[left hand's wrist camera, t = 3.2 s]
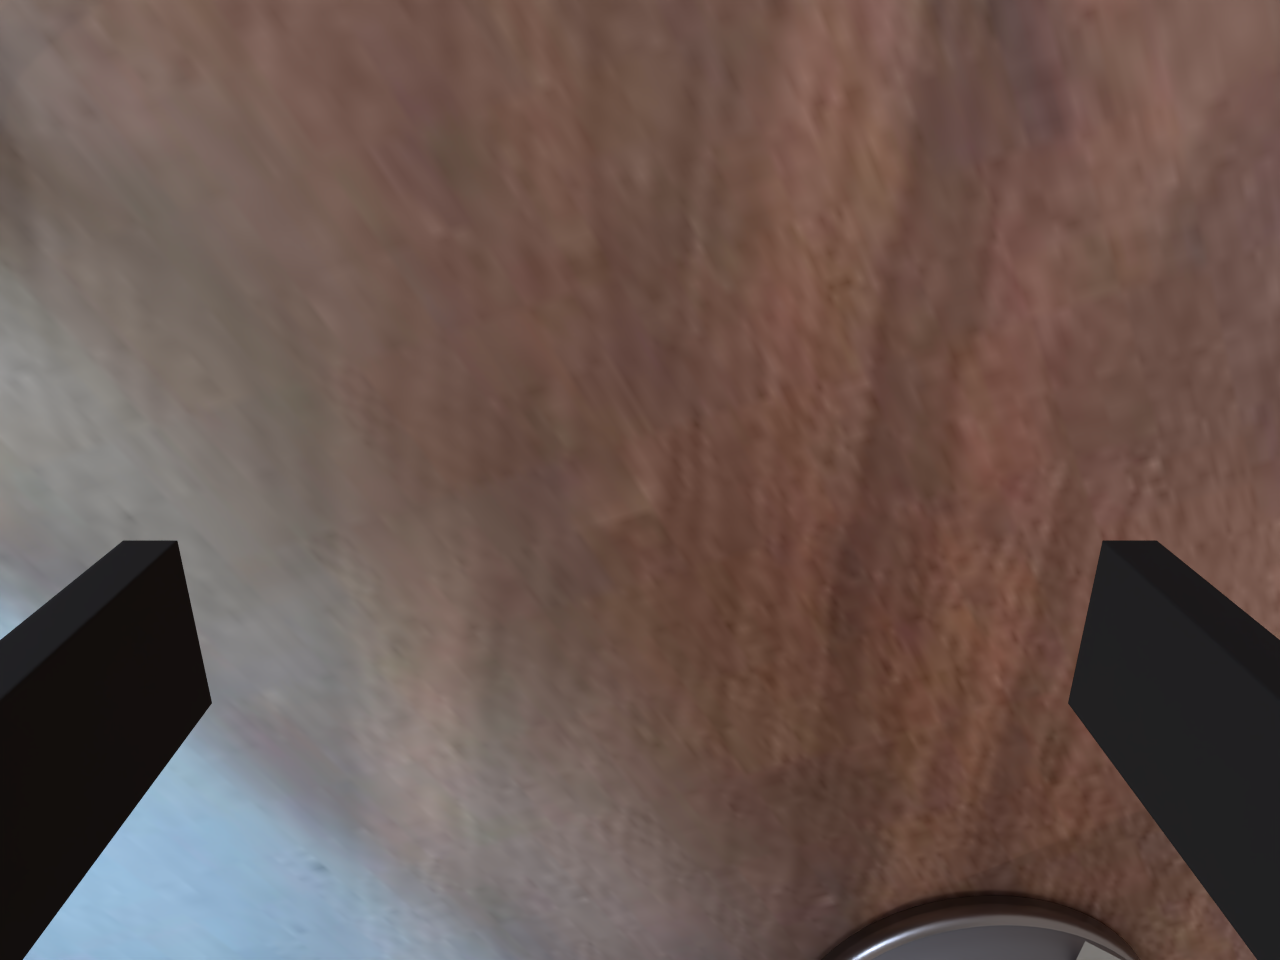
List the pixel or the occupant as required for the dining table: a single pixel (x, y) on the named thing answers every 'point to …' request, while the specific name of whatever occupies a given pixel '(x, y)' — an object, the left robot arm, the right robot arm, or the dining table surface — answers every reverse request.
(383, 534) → the dining table surface
